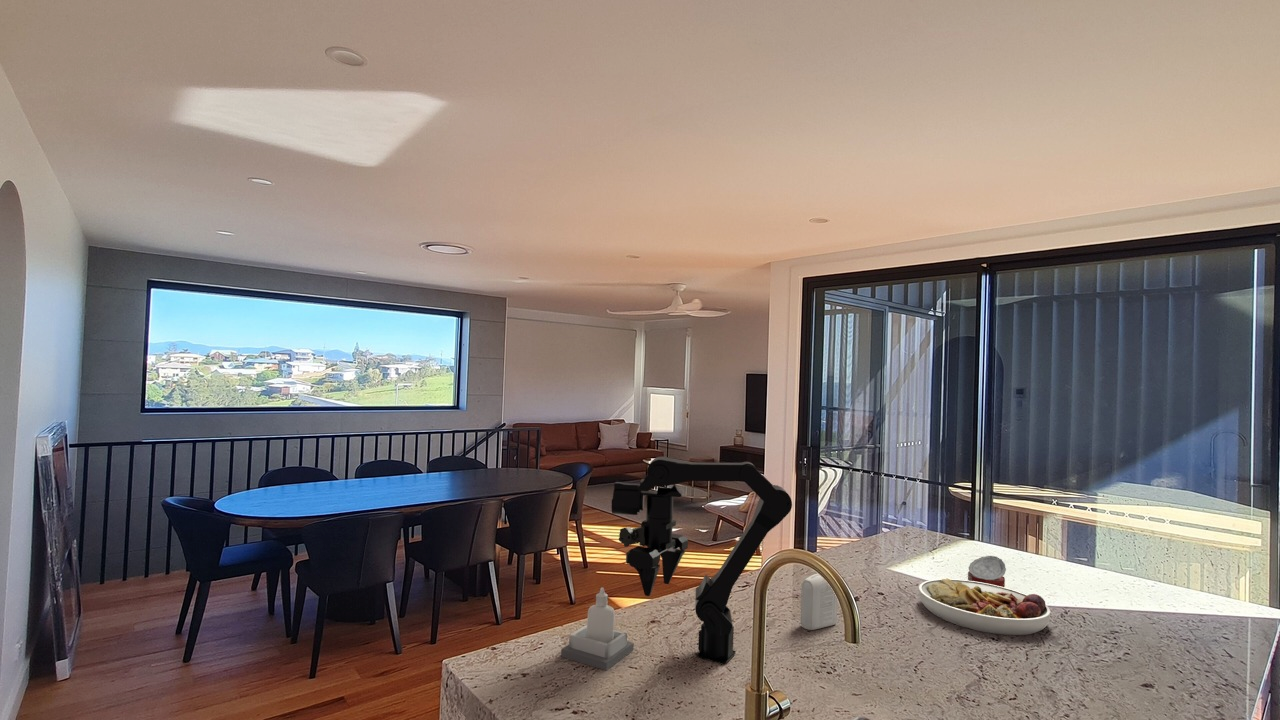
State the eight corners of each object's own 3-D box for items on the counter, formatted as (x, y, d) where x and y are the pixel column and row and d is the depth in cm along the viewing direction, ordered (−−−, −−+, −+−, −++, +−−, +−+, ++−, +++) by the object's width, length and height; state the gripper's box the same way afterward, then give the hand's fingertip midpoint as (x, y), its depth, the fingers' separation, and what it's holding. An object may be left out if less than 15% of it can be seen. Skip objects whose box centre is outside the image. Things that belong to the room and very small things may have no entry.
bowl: (921, 626, 150) (922, 594, 151) (915, 589, 178) (916, 563, 179) (1065, 650, 139) (1065, 615, 139) (1034, 607, 167) (1035, 579, 167)
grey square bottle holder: (633, 650, 129) (634, 631, 129) (606, 670, 119) (607, 650, 120) (590, 638, 134) (590, 619, 135) (560, 656, 125) (561, 636, 125)
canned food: (1005, 604, 182) (1018, 579, 178) (972, 599, 182) (984, 574, 178) (988, 576, 192) (1001, 552, 188) (957, 571, 193) (968, 547, 188)
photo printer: (825, 618, 152) (827, 568, 152) (839, 624, 148) (841, 573, 149) (797, 626, 146) (799, 574, 147) (811, 632, 143) (813, 579, 143)
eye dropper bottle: (595, 638, 131) (598, 582, 131) (616, 646, 127) (619, 588, 128) (582, 645, 127) (585, 587, 127) (603, 653, 124) (606, 594, 124)
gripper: (646, 504, 143) (644, 571, 142) (605, 519, 126) (602, 595, 125) (689, 510, 137) (687, 580, 137) (652, 526, 121) (650, 605, 120)
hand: (657, 589), depth 130 cm, fingers open, 9 cm apart
